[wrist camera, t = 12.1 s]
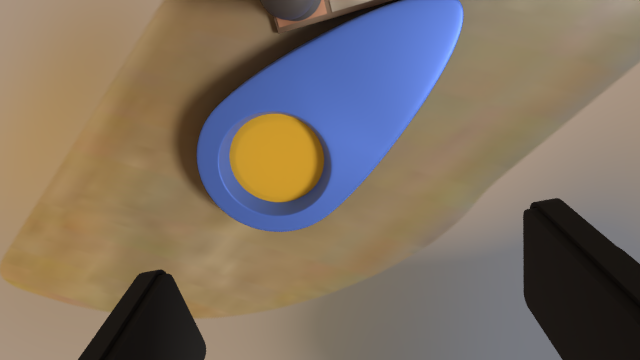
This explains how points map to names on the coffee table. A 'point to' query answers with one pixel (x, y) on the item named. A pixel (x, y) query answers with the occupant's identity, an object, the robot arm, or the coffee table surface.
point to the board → (327, 12)
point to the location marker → (324, 114)
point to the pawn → (291, 8)
